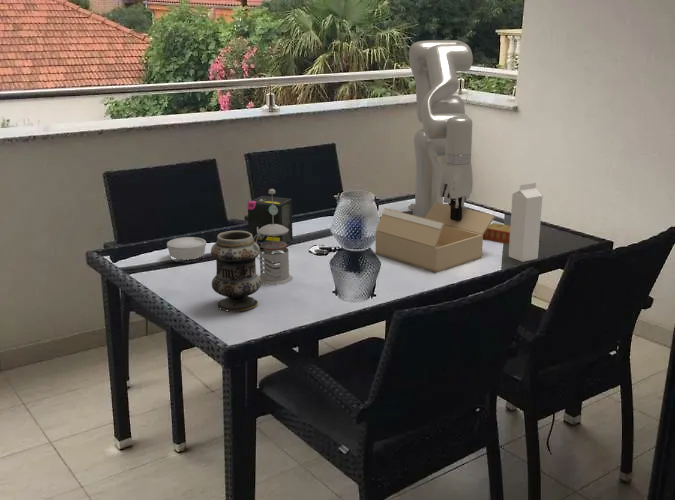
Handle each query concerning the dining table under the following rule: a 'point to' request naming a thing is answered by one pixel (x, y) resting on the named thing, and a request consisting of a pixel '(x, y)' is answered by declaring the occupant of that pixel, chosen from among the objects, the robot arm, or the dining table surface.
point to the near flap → (410, 227)
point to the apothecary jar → (236, 270)
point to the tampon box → (270, 217)
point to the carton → (498, 233)
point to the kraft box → (432, 249)
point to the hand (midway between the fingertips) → (455, 219)
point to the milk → (525, 223)
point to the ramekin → (186, 248)
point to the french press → (274, 254)
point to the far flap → (469, 221)
